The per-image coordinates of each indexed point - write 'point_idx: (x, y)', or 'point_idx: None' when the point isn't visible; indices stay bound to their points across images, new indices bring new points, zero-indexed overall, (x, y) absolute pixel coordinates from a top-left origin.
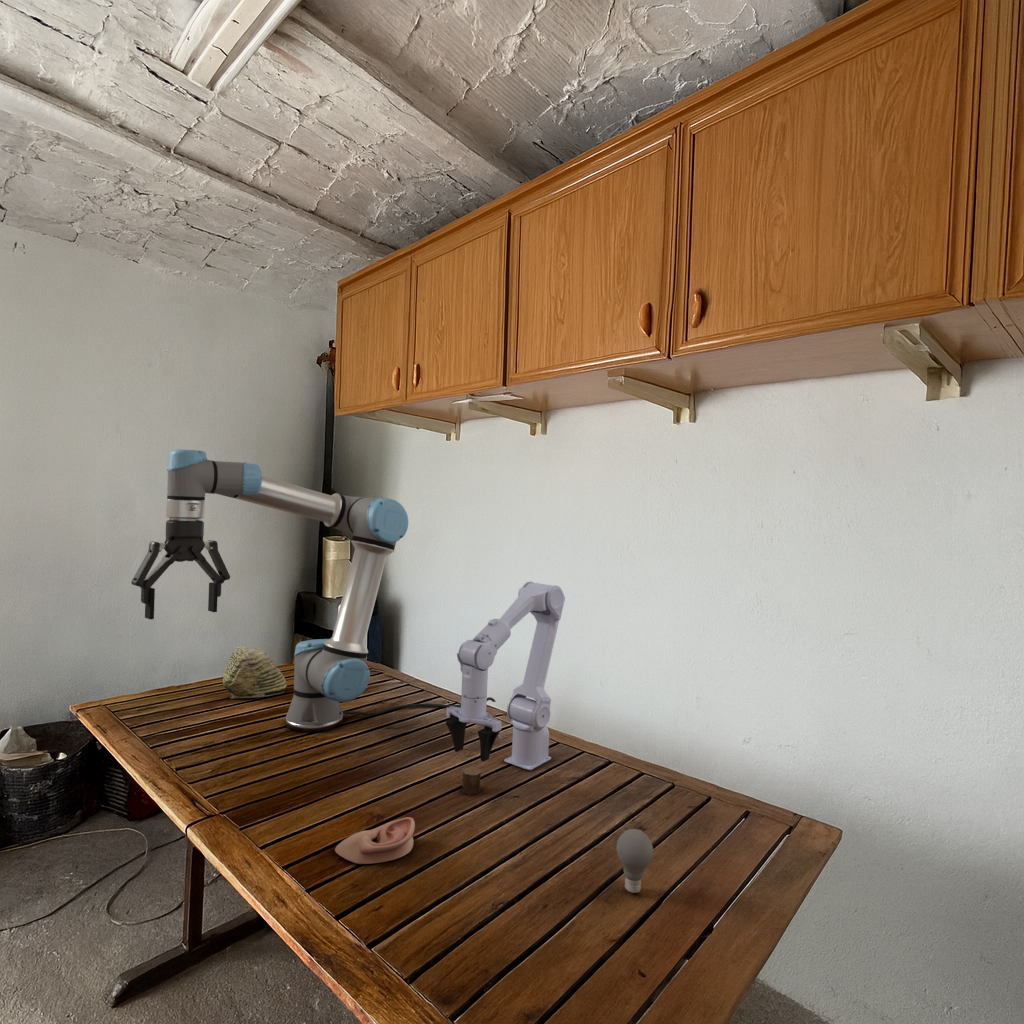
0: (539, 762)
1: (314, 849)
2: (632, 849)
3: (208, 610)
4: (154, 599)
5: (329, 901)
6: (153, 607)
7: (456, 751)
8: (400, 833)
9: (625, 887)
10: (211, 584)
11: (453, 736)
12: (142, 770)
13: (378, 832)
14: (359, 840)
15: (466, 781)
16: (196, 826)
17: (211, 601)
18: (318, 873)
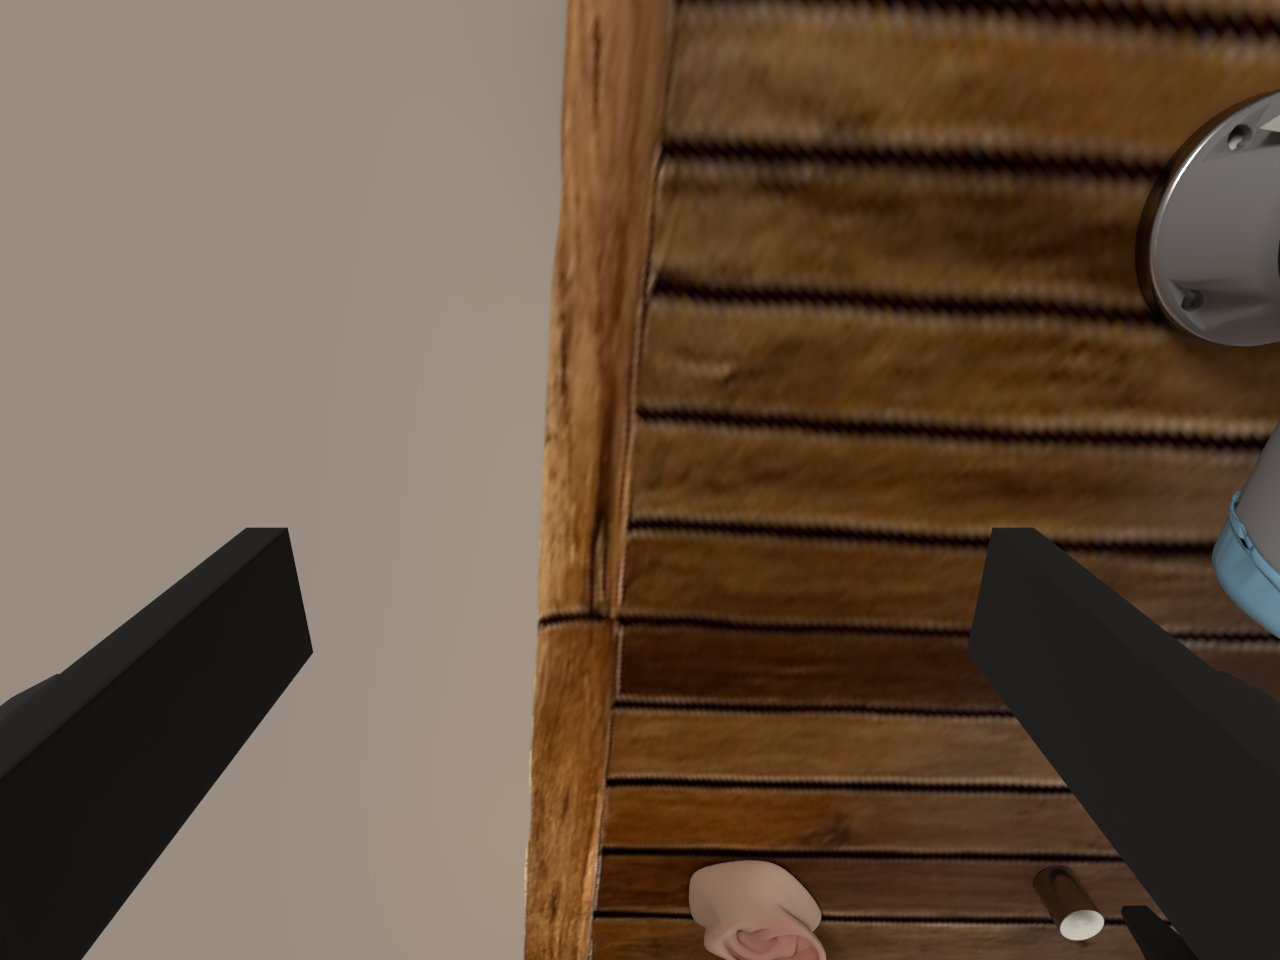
0: None
1: (674, 842)
2: None
3: (992, 539)
4: (176, 833)
5: (603, 947)
6: (234, 746)
7: (1121, 912)
8: (783, 954)
9: None
10: (1266, 887)
11: (1143, 950)
12: (573, 210)
13: (761, 928)
14: (719, 925)
15: (1049, 910)
16: (551, 636)
17: (1048, 672)
18: (634, 894)
